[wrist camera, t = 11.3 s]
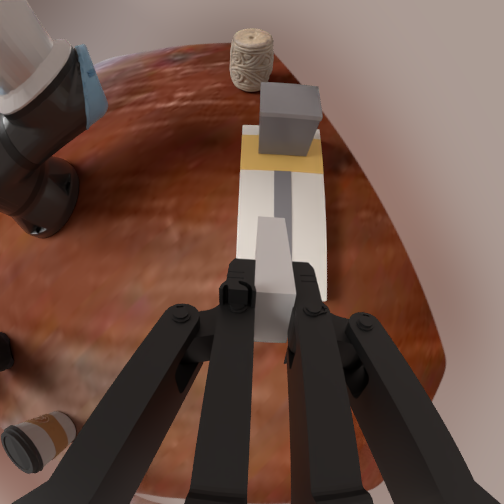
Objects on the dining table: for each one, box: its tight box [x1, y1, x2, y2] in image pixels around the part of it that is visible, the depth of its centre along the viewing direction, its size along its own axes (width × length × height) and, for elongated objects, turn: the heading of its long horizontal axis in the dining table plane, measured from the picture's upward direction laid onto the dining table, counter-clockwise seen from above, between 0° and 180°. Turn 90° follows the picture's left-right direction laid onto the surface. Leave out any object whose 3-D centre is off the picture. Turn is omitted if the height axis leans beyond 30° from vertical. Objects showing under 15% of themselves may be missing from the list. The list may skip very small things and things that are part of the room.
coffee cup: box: [1, 411, 76, 474], centre depth 26 cm, size 8×8×15 cm
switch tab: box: [258, 82, 323, 156], centre depth 34 cm, size 5×7×10 cm
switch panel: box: [236, 125, 327, 301], centre depth 39 cm, size 26×12×3 cm, turn 178°
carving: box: [230, 28, 274, 92], centre depth 39 cm, size 6×8×12 cm
